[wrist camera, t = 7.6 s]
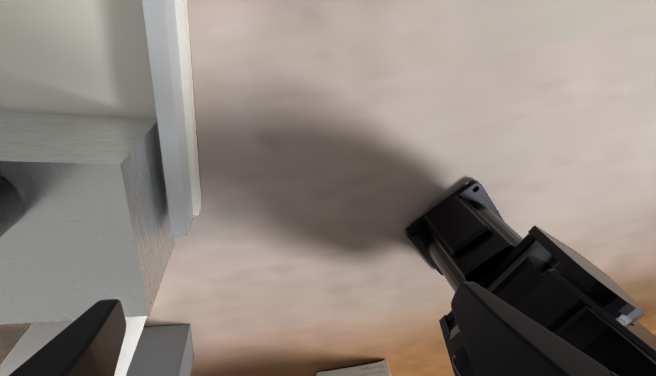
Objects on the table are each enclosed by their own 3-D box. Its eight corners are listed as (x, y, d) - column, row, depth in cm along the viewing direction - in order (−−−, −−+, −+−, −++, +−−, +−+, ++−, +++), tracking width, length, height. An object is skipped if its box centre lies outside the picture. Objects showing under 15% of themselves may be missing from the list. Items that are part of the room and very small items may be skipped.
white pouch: (-49, 560, 14) (-155, 509, 11) (82, 324, 24) (43, 267, 22) (101, 522, 15) (37, 465, 12) (167, 308, 25) (140, 250, 22)
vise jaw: (-84, 105, 15) (-617, 266, 6) (158, 119, 17) (44, 251, 8) (-18, 247, 19) (-280, 479, 10) (174, 244, 21) (108, 431, 12)
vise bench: (-280, -293, 10) (-1371, -892, 3) (173, -186, 13) (77, -397, 6) (35, 370, 26) (-47, 504, 19) (212, 355, 28) (197, 467, 22)
